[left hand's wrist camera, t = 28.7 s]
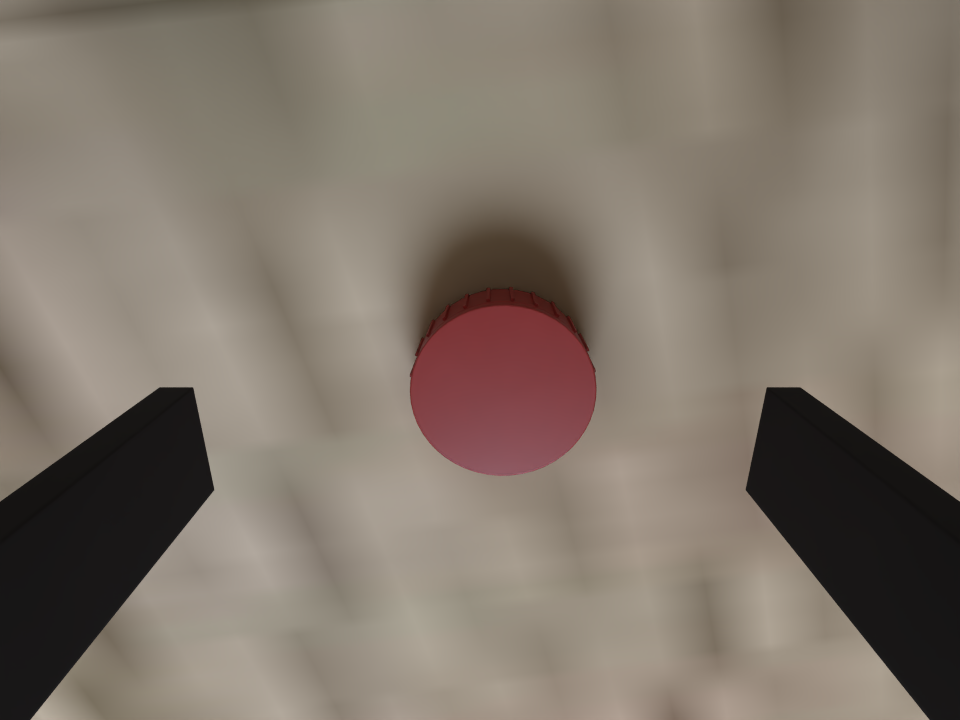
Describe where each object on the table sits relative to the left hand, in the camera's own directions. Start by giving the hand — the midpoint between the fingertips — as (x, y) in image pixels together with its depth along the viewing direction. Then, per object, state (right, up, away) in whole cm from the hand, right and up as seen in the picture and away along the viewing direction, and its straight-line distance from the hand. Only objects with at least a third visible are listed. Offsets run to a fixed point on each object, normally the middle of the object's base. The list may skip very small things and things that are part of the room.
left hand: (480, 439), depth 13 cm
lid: (+1, +1, +4) cm, 4 cm away
